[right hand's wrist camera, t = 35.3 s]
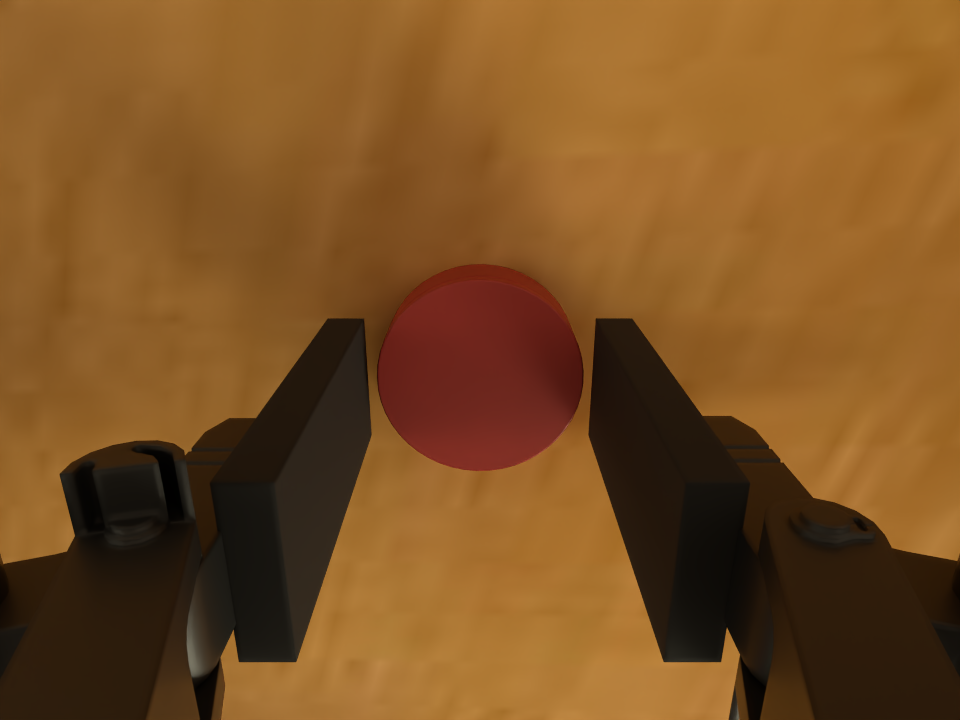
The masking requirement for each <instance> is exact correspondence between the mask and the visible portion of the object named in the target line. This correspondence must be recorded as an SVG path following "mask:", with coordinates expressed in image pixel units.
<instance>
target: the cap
mask: <svg viewBox="0 0 960 720" xmlns="http://www.w3.org/2000/svg"><path fill="white" fill-rule="evenodd" d="M377 382H378V391H379V395H380V399H381V403H382V405H383V408H384V410H385V413H386V415H387V417H388V419H389V420H390V422H391V424H392V425H393V427H394V428H395V429H396V431H397V432H398V433H399V435H400V436H401V437H402V438H403V439H404V440H405V441H406V442H407V443H408V444H409V445H411V446H412V447H413V448H414V449H416V450H417V451H418V452H420V453H421V454H423V455H425V456H426V457H428V458H430V459H432V460H434V461H436V462H438V463H441V464H444V465H447V466H450V467H453V468H458V469H463V470H473V471H490V470H497V469H503V468H507V467H511V466H514V465H517V464H520V463H522V462H525V461H527V460H529V459H531V458H533V457H534V456H536V455H538V454H539V453H541V452H542V451H544V450H545V449H546V448H548V447H549V446H550V445H551V444H552V443H553V442H554V441H555V440H557V439H558V437H559V436H560V435H561V434H562V433H563V431H564V430H565V429H566V428H567V426H568V424H569V423H570V421H571V420H572V418H573V416H574V414H575V412H576V409H577V407H578V404H579V401H580V398H581V393H582V387H583V363H582V357H581V353H580V349H579V346H578V343H577V341H576V338H575V336H574V333H573V331H572V329H571V326H570V324H569V321H568V319H567V317H566V314H565V313H564V311H563V309H562V308H561V306H560V304H559V303H558V302H557V301H556V299H555V298H554V297H553V296H552V295H551V294H550V293H549V292H548V291H547V290H546V289H545V288H544V287H543V286H542V285H540V284H539V283H537V282H536V281H535V280H533V279H532V278H530V277H528V276H526V275H524V274H522V273H520V272H517V271H515V270H512V269H509V268H505V267H501V266H496V265H486V264H477V265H466V266H460V267H455V268H452V269H449V270H445V271H443V272H441V273H439V274H437V275H434V276H433V277H431V278H429V279H428V280H426V281H424V282H423V283H422V284H420V285H419V286H418V287H417V288H416V289H414V290H413V291H412V292H411V293H410V294H409V296H408V297H407V298H406V299H405V300H404V301H403V303H402V304H401V306H400V307H399V309H398V310H397V312H396V314H395V316H394V318H393V320H392V322H391V325H390V327H389V330H388V332H387V334H386V337H385V339H384V342H383V345H382V348H381V351H380V355H379V360H378V367H377Z"/></svg>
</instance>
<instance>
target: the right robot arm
mask: <svg viewBox="0 0 960 720" xmlns="http://www.w3.org/2000/svg"><path fill="white" fill-rule="evenodd" d="M370 438H371V419H370V404H369V388H368V372H367V357H366V341H365V325H364V319H327V321H326V322H325V323H324V325H323V326H322V328H321V329H320V330H319V332H318V333H317V334H316V336H315V337H314V339H313V340H312V341H311V343H310V344H309V346H308V347H307V348H306V350H305V351H304V352H303V354H302V355H301V357H300V358H299V359H298V361H297V362H296V364H295V365H294V366H293V368H292V369H291V371H290V372H289V373H288V375H287V376H286V377H285V379H284V380H283V382H282V383H281V384H280V386H279V387H278V389H277V390H276V391H275V393H274V394H273V395H272V397H271V398H270V400H269V401H268V402H267V404H266V405H265V407H264V408H263V409H262V411H261V412H260V414H259V415H258V416H257V418H229V419H227V420H225V421H224V422H222V423H220V424H219V425H217V426H215V427H213V428H212V429H210V430H208V431H206V432H205V433H204V434H203V435H202V437H201V438H200V439H199V440H198V441H197V443H196V444H195V445H194V446H193V447H192V451H191V452H188V453H187V454H186V456H185V453H184V450H183V449H181V448H180V447H178V446H177V445H175V444H173V443H168V442H163V441H158V440H156V441H133V442H128V443H122V444H117V445H112V446H109V447H106V448H103V449H100V450H97V451H94V452H91V453H89V454H87V455H85V456H83V457H81V458H79V459H78V460H76V461H74V462H72V463H71V464H70V465H69V466H68V467H67V468H65V469H64V470H63V471H62V472H61V473H60V478H61V482H62V486H63V490H64V494H65V498H66V502H67V506H68V510H69V514H70V518H71V521H72V525H73V529H74V533H75V537H74V539H73V541H72V543H71V545H70V547H69V549H68V551H67V552H63V553H59V554H55V555H49V556H44V557H39V558H33V559H28V560H23V561H17V562H12V563H7V564H3V561H2V558H1V555H0V720H221V714H222V706H223V698H224V691H225V682H224V675H223V669H222V664H221V658H220V657H221V655H222V653H223V650H224V648H225V646H226V644H227V642H228V640H229V638H230V636H231V634H232V631H233V629H234V635H235V641H236V647H237V653H238V659H239V662H296V661H297V658H298V655H299V652H300V649H301V646H302V643H303V640H304V637H305V634H306V631H307V628H308V625H309V622H310V619H311V616H312V613H313V610H314V607H315V604H316V601H317V598H318V595H319V592H320V589H321V586H322V583H323V580H324V577H325V574H326V571H327V568H328V565H329V562H330V559H331V556H332V553H333V550H334V547H335V544H336V541H337V538H338V535H339V532H340V529H341V525H342V522H343V519H344V516H345V513H346V510H347V507H348V504H349V501H350V498H351V495H352V492H353V489H354V486H355V483H356V480H357V477H358V474H359V471H360V468H361V465H362V462H363V459H364V456H365V453H366V450H367V447H368V444H369V441H370ZM589 438H590V441H591V444H592V447H593V450H594V453H595V456H596V459H597V462H598V465H599V468H600V471H601V474H602V477H603V480H604V483H605V486H606V489H607V492H608V495H609V498H610V501H611V504H612V507H613V510H614V513H615V516H616V519H617V522H618V525H619V528H620V531H621V534H622V537H623V540H624V544H625V547H626V550H627V553H628V556H629V559H630V562H631V565H632V568H633V571H634V574H635V577H636V580H637V583H638V586H639V589H640V592H641V595H642V598H643V601H644V604H645V607H646V610H647V613H648V616H649V619H650V622H651V625H652V628H653V631H654V634H655V637H656V640H657V643H658V646H659V649H660V652H661V655H662V658H663V661H664V662H721V659H722V653H723V647H724V641H725V635H726V629H727V628H728V630H729V632H730V634H731V636H732V639H733V641H734V643H735V645H736V647H737V649H738V651H739V653H740V658H739V664H738V669H737V675H736V681H735V686H734V692H733V698H732V703H731V709H730V715H729V720H960V555H959V558H958V561H954V560H949V559H943V558H938V557H932V556H927V555H922V554H916V553H911V552H906V551H901V550H897V549H893V548H891V546H890V544H889V542H888V540H887V538H886V536H885V535H884V533H883V532H882V531H881V530H880V529H879V528H878V527H877V525H876V524H875V523H874V522H873V521H871V520H869V519H868V518H866V517H865V516H863V515H862V514H860V513H858V512H857V511H855V510H852V509H850V508H847V507H845V506H842V505H840V504H837V503H834V502H830V501H825V500H820V499H816V498H813V497H812V496H811V495H810V494H809V492H808V491H807V490H806V489H805V488H804V487H803V485H802V484H801V483H800V482H799V481H798V480H797V478H796V477H795V476H794V475H793V474H792V472H791V471H790V470H789V469H788V468H787V467H786V465H785V464H784V463H780V458H779V457H778V456H777V455H776V454H775V453H774V451H773V450H772V449H769V446H768V444H767V443H766V442H765V441H764V440H763V439H762V437H761V436H760V435H759V434H758V433H757V431H756V430H754V429H753V428H751V427H749V426H748V425H746V424H744V423H742V422H741V421H739V420H737V419H735V418H734V417H732V416H702V415H701V413H700V412H699V411H698V409H697V408H696V407H695V405H694V404H693V402H692V401H691V400H690V398H689V397H688V395H687V394H686V393H685V391H684V390H683V389H682V387H681V386H680V384H679V383H678V382H677V380H676V379H675V377H674V376H673V375H672V373H671V372H670V370H669V369H668V368H667V366H666V365H665V364H664V362H663V361H662V359H661V358H660V357H659V355H658V354H657V352H656V351H655V350H654V348H653V347H652V346H651V344H650V343H649V341H648V340H647V339H646V337H645V336H644V334H643V333H642V332H641V330H640V329H639V327H638V326H637V325H636V323H635V322H634V321H633V319H596V326H595V341H594V357H593V373H592V388H591V404H590V420H589Z"/></svg>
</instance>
